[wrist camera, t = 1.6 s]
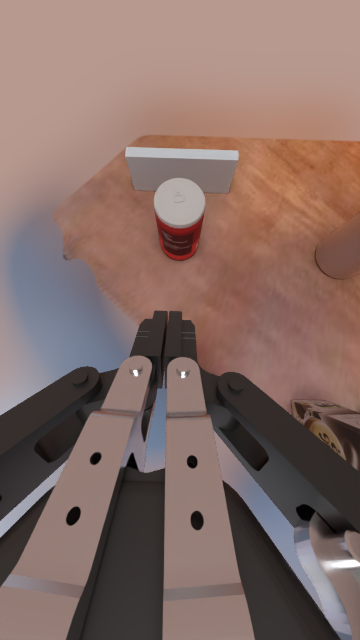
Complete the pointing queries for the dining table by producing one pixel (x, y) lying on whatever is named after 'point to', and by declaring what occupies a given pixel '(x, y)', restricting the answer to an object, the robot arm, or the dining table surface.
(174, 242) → the canned food
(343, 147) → the dining table surface
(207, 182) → the stop board
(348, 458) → the coffee box
